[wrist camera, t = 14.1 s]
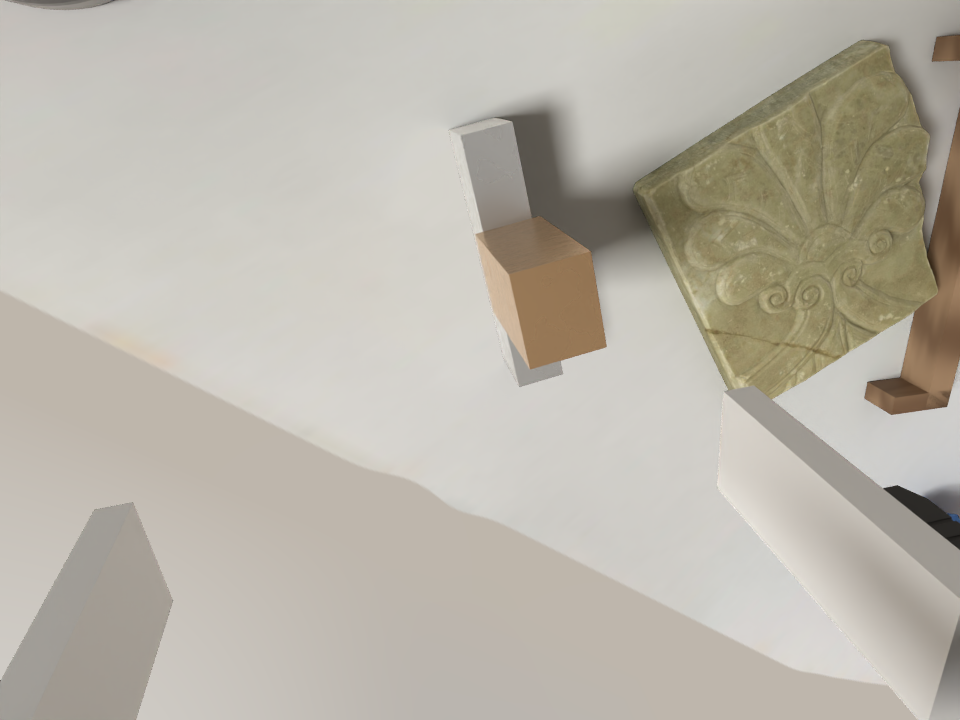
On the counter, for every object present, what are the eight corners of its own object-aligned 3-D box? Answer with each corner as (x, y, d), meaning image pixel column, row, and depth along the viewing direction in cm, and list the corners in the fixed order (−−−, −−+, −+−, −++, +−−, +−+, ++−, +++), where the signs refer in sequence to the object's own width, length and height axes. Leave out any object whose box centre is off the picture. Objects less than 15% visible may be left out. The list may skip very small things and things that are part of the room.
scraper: (440, 131, 41) (481, 153, 28) (502, 115, 41) (570, 130, 28) (496, 360, 47) (550, 461, 35) (549, 344, 48) (622, 439, 35)
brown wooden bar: (936, 37, 44) (975, 33, 41) (1001, 33, 45) (1043, 30, 42) (864, 398, 55) (891, 414, 52) (917, 390, 56) (947, 406, 53)
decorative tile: (729, 401, 53) (753, 422, 50) (624, 186, 45) (645, 194, 42) (934, 274, 52) (972, 287, 49) (866, 29, 44) (907, 25, 40)
